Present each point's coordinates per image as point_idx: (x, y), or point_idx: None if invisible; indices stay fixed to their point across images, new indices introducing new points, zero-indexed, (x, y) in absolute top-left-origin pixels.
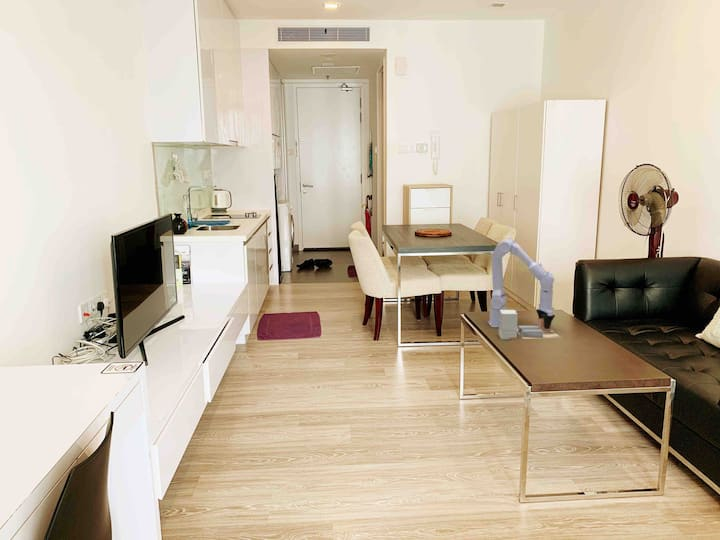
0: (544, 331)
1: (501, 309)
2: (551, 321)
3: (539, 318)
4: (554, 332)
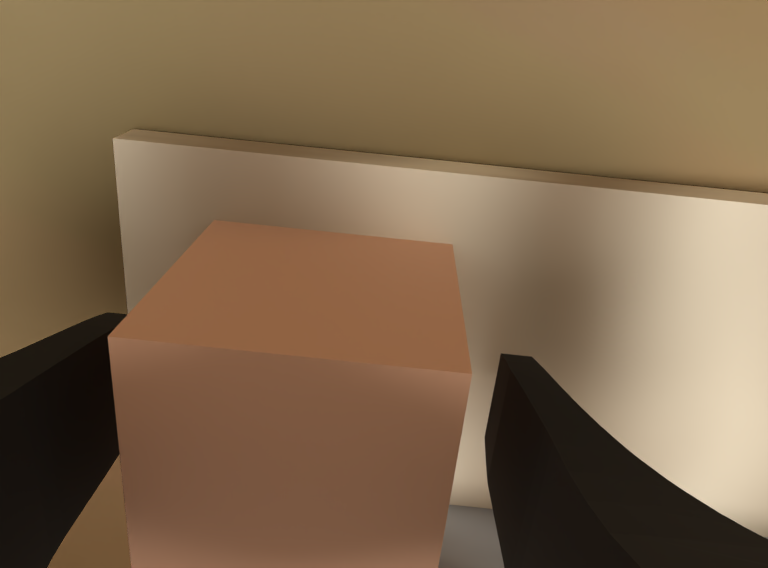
0: None
1: None
2: (655, 479)
3: (145, 566)
4: (558, 207)
